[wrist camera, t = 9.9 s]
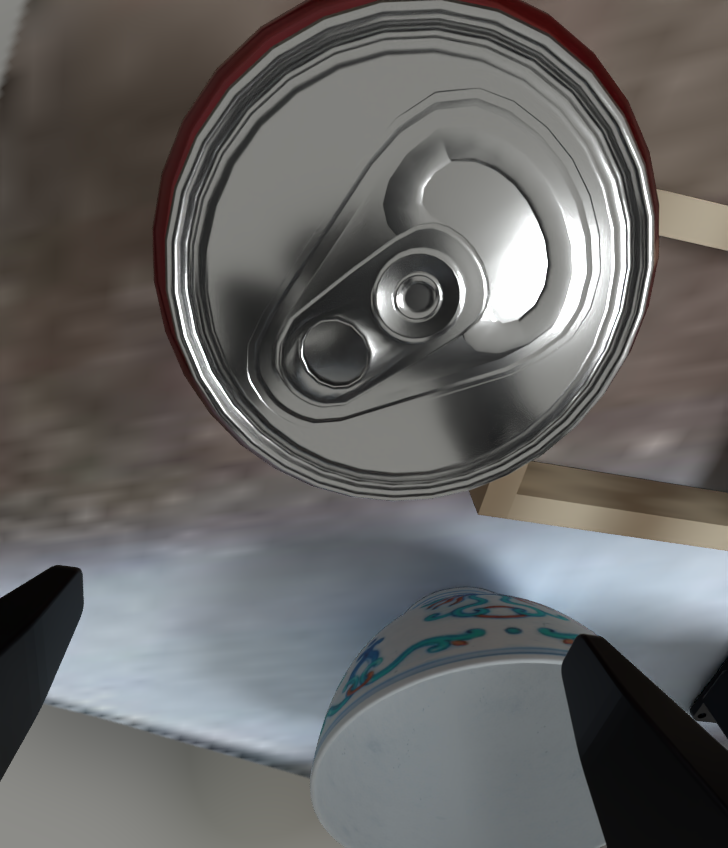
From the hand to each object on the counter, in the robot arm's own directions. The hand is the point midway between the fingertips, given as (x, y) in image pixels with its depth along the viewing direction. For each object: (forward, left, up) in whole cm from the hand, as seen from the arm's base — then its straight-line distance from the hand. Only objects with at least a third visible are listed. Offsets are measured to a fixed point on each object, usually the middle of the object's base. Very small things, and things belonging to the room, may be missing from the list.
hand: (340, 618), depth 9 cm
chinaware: (-9, +14, -13) cm, 21 cm away
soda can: (0, -6, -12) cm, 14 cm away
